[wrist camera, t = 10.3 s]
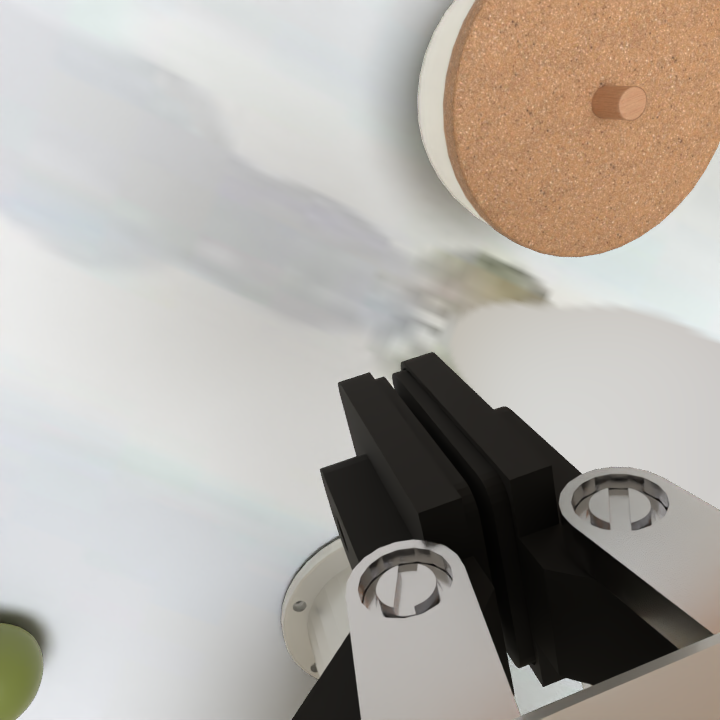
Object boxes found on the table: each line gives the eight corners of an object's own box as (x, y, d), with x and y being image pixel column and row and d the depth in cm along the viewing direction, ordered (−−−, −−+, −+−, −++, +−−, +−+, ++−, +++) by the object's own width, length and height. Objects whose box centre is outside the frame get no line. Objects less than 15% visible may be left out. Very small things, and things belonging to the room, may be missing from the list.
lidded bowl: (623, 169, 38) (782, 203, 28) (420, 252, 37) (514, 317, 27) (589, -84, 33) (773, -150, 23) (348, 3, 31) (434, -28, 22)
